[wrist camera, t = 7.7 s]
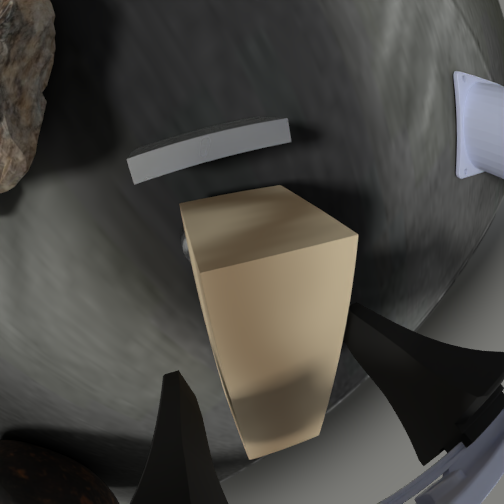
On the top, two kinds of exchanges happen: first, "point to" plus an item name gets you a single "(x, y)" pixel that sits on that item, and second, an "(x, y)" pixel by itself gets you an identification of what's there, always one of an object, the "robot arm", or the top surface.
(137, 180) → the grey blocks and balls
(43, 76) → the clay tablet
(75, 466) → the glass bottle
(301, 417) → the oak block
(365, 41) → the top surface
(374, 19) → the top surface
